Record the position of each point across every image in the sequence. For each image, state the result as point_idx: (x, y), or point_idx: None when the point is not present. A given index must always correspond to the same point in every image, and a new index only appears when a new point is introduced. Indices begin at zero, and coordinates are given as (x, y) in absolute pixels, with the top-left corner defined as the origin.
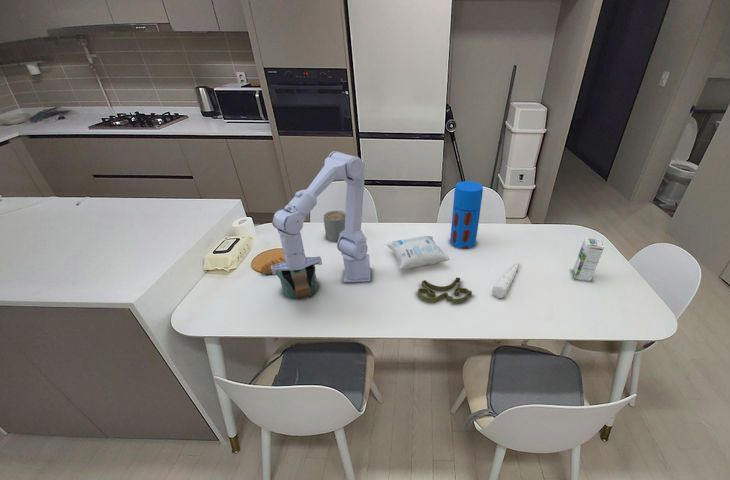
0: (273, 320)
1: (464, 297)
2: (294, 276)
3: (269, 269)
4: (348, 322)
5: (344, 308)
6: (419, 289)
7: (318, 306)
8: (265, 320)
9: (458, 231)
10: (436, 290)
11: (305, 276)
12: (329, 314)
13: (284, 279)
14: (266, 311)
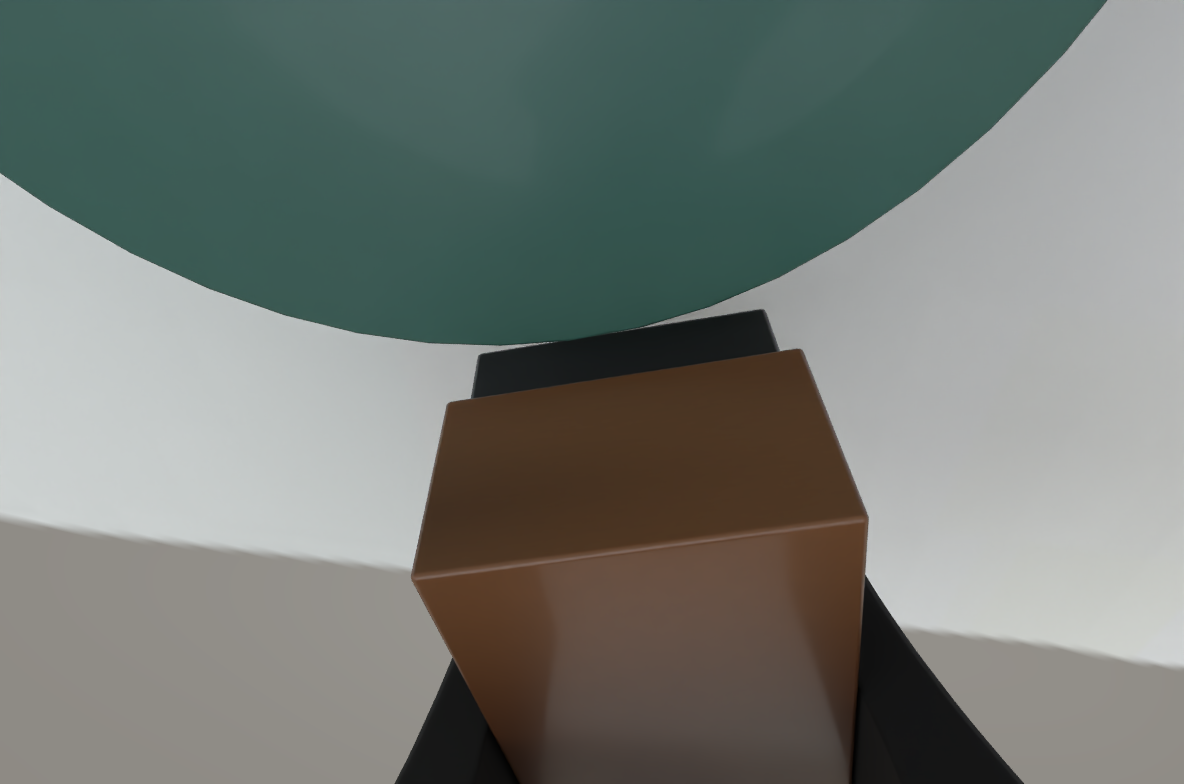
0: (260, 444)
1: None
2: (514, 652)
3: None
4: (1032, 568)
5: (1096, 399)
6: None
7: (796, 313)
8: (162, 430)
9: None
10: None
11: (831, 679)
12: (891, 456)
13: (146, 238)
14: (86, 287)
